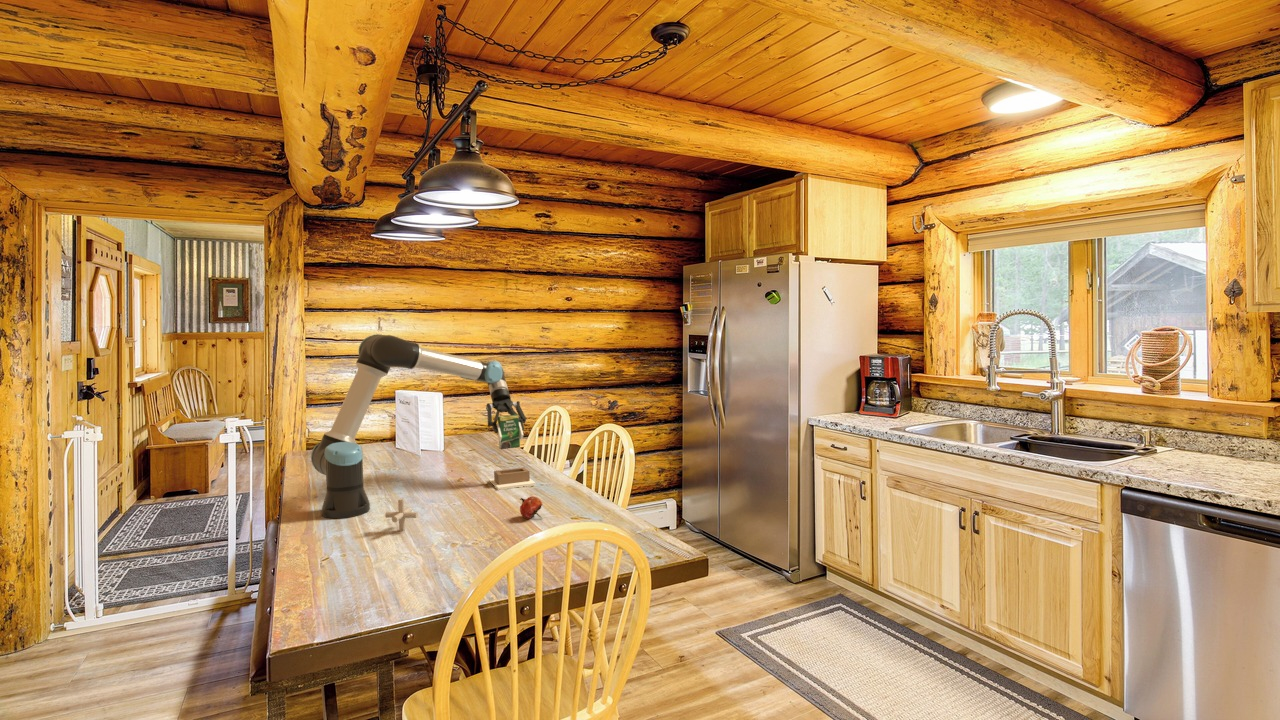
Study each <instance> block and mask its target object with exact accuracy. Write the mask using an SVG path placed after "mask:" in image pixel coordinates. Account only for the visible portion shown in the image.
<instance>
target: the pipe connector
mask: <svg viewBox="0 0 1280 720" xmlns="http://www.w3.org/2000/svg"><path fill="white" fill-rule="evenodd" d="M397 504H398V506H397V510H398V511H386V512H385V513H384V516H385V518H388V519H389V518H390V519H391V522H392V523H397V522H398V526H399V527H398V529H399V531H398V532H405V531H406V519H418V518H419V512H416V511H412V510H413V509H412V508H411V507H410V506H408V507H405V498H403V497H402V498H398V499H397Z"/></svg>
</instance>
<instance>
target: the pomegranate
mask: <svg viewBox="0 0 1280 720" xmlns="http://www.w3.org/2000/svg"><path fill="white" fill-rule="evenodd" d="M519 501H521V505H520V507H519V512H520V515H521V516H522V517H523V518H524V519H526V520H529V519H532V517H534V516H536V515H537V516H538V517H539V518H541V519H542V520H543V518H542V517H541V515H539V514H538V512H539V511H540V510H541V508H542V507H543V505H544V503H543V502H542V500H541V499H540V498H539V497H536V496H532V495H531V496H529V497H527V498H523V497H520V499H519Z"/></svg>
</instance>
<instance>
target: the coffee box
mask: <svg viewBox="0 0 1280 720" xmlns="http://www.w3.org/2000/svg"><path fill="white" fill-rule="evenodd" d="M517 414H518V413H517ZM517 414H516V415H510V414H508V415H501V416H500V415H499V416H498V420H497V424H499V427H500V431H501V435H502V439H501V441H499V440H498V447H499V450H506V449H507V450H508V449H516V448H521V441H520V440H521V439H520V435H519V415H517Z"/></svg>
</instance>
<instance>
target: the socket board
mask: <svg viewBox="0 0 1280 720" xmlns="http://www.w3.org/2000/svg"><path fill="white" fill-rule="evenodd" d="M530 475H531V473H530V470H528V469H527V468H525V467H518V468H508V469H500V470H494V471H493V476H494V477H493V478H489V479H488V482H489V481H490V482H491V483H492V484H493V485H494V486H495V487H496V488H497V489H498V490H497V489H496V488H495V487H494V486H493V485H492V484H491V483H490V482H489V483H490V484H491V485H492V486H493V487H494V488H495V489H496V490H497V491H500V490H499V489H504V490H507V489H506V488H512V489H515V488H514V487H519V488H524V487H523V486H527V487H533V485H535V486H537V485H536V484H537V483H536V482H535V481H534V480H533V479H532V478H530V477H531V476H530Z"/></svg>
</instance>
